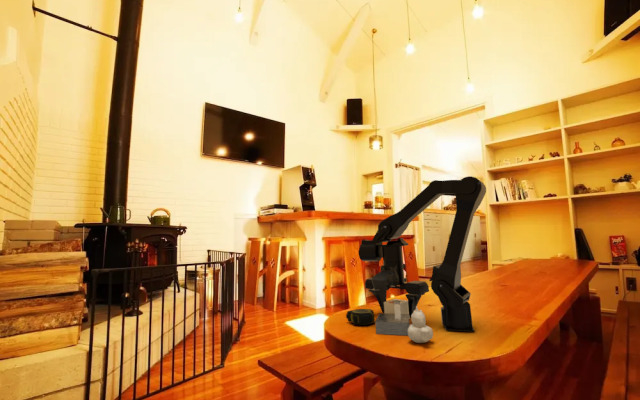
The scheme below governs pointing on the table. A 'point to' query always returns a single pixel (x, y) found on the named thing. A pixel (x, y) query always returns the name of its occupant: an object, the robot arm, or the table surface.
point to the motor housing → (393, 322)
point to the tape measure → (360, 316)
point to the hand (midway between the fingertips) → (397, 315)
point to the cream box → (390, 306)
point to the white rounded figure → (419, 328)
